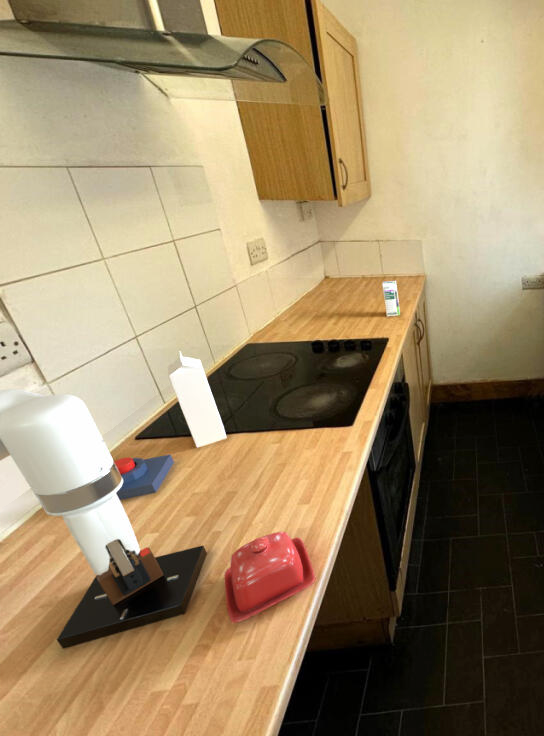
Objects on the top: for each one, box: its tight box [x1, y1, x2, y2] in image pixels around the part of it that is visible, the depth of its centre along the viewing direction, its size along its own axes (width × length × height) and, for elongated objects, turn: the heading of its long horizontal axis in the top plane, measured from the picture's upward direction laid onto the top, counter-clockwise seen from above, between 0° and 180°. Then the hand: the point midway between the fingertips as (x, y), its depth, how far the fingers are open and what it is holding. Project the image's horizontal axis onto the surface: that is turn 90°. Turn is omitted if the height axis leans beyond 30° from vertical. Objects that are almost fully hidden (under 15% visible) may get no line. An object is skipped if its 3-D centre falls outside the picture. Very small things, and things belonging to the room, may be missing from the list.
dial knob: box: [95, 546, 163, 605], centre depth 61 cm, size 6×2×5 cm, turn 143°
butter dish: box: [223, 531, 316, 624], centre depth 63 cm, size 12×12×8 cm
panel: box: [56, 545, 208, 650], centre depth 62 cm, size 14×11×2 cm
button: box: [114, 456, 135, 474], centre depth 84 cm, size 4×4×2 cm
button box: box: [116, 454, 175, 501], centre depth 85 cm, size 12×10×4 cm
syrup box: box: [381, 280, 401, 318], centre depth 180 cm, size 6×6×14 cm
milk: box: [167, 350, 227, 449], centre depth 96 cm, size 6×6×22 cm
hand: (134, 582), depth 62 cm, fingers closed on dial knob
